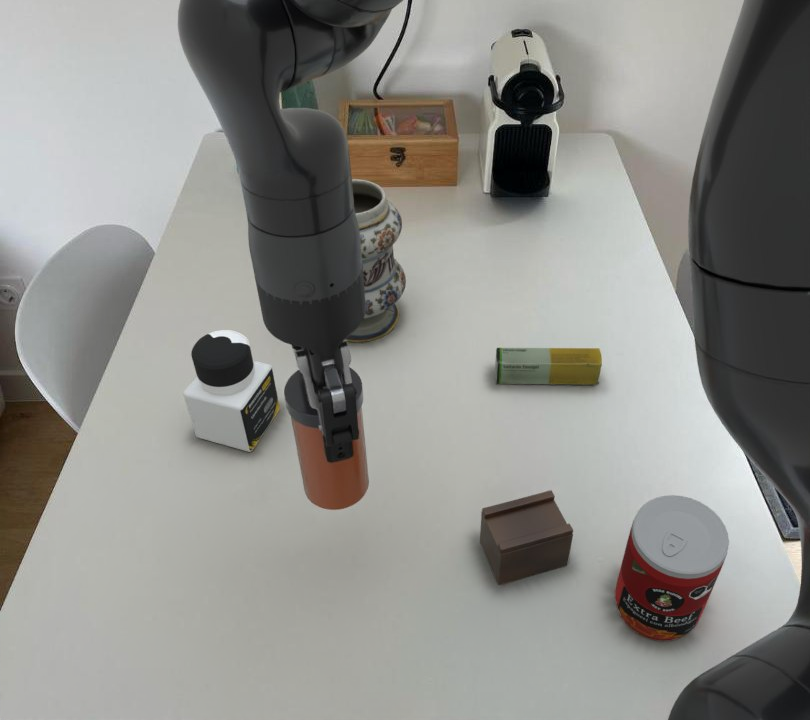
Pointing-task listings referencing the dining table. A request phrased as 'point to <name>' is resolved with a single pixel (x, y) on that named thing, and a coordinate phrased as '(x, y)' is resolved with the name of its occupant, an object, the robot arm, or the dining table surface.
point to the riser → (525, 537)
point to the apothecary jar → (377, 260)
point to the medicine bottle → (230, 391)
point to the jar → (321, 478)
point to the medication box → (548, 366)
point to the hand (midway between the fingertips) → (330, 427)
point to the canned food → (670, 566)
